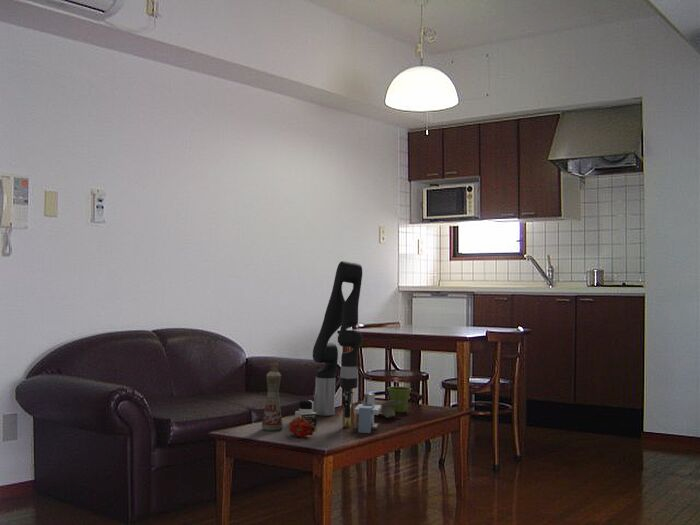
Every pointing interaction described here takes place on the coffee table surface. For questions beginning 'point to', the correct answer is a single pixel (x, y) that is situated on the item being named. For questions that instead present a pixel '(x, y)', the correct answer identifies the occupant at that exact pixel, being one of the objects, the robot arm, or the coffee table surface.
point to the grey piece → (375, 411)
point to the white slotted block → (389, 408)
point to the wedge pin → (348, 419)
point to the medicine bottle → (307, 412)
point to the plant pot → (399, 397)
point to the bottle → (272, 401)
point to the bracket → (365, 418)
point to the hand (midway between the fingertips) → (347, 416)
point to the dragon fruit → (301, 427)
